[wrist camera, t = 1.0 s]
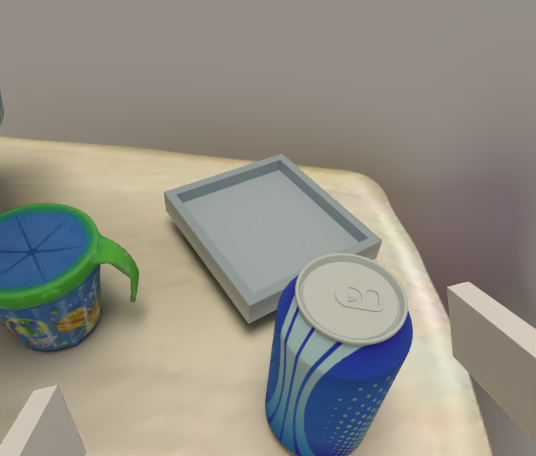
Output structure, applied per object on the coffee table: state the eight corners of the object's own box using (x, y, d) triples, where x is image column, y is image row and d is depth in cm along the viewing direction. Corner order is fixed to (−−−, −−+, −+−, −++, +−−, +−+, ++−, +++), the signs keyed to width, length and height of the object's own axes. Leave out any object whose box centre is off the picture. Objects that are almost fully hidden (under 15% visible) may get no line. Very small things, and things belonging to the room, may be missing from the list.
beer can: (316, 493, 32) (362, 390, 21) (243, 407, 36) (249, 285, 25) (385, 418, 36) (452, 301, 25) (312, 350, 41) (343, 224, 30)
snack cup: (155, 280, 46) (142, 206, 39) (131, 373, 38) (109, 302, 31) (3, 273, 45) (-38, 197, 38) (-52, 366, 37) (-117, 292, 30)
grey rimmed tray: (168, 225, 52) (163, 192, 48) (278, 185, 59) (282, 153, 55) (247, 338, 41) (249, 305, 38) (371, 273, 48) (382, 240, 45)
